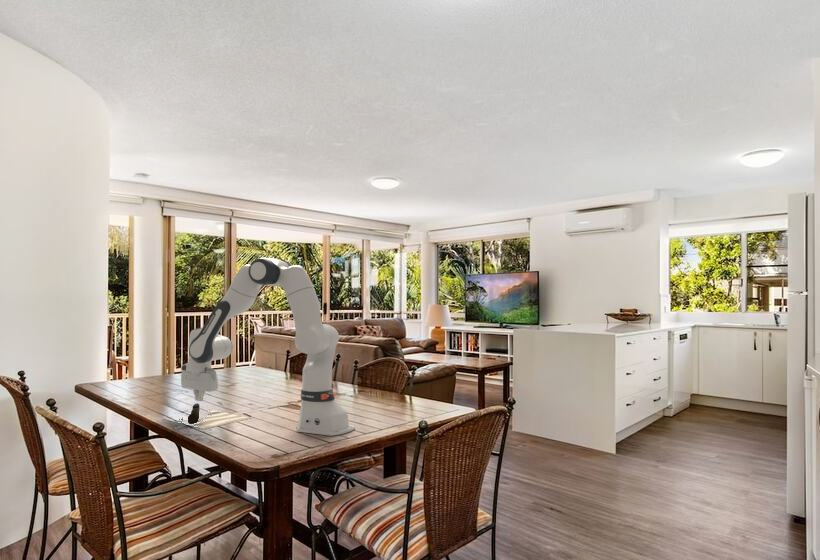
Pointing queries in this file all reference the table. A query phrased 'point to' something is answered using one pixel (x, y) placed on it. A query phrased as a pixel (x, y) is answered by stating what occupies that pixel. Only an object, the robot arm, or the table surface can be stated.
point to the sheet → (218, 419)
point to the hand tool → (194, 414)
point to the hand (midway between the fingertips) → (199, 400)
